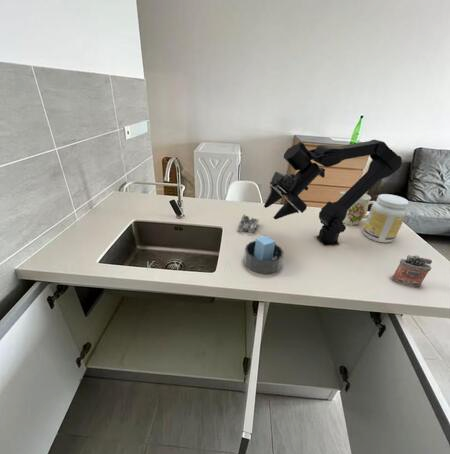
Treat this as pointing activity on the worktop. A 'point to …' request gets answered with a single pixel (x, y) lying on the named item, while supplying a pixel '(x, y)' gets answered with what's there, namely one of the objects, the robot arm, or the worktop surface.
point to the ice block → (264, 248)
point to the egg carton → (248, 224)
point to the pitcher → (357, 210)
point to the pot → (262, 265)
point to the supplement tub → (385, 218)
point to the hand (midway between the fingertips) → (269, 212)
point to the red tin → (412, 271)
